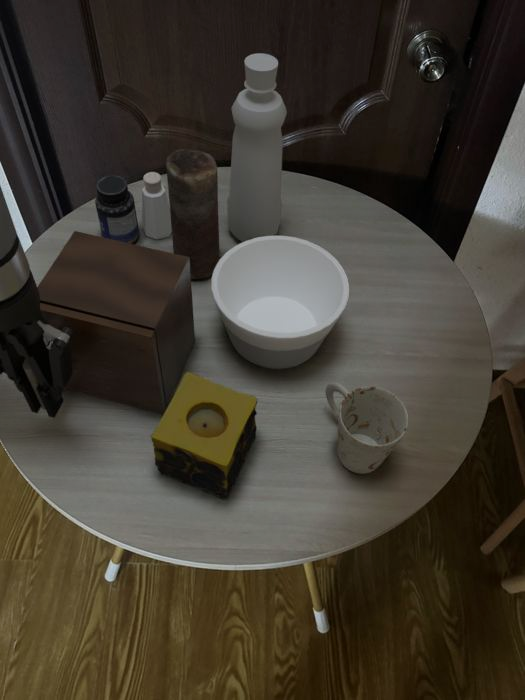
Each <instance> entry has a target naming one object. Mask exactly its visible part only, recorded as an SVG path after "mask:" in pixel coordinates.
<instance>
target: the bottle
mask: <svg viewBox="0 0 525 700" xmlns="http://www.w3.org/2000/svg"><path fill="white" fill-rule="evenodd" d="M243 63H244V73H245V80H244V82H243V83H244V87H245V88H244V89H243V90H241V91H240V92H238V95H237V96H236V99H235V100H234V102H233V104H232V106H231V114H232V119H233V123H234V125H235V126H234V130H233V134H232V144H231V145H232V146H231V161H230V162H231V163H230V176H229V177H230V178H229V192H228V196H227V197H228V198H227V200H226V203H227V205H226V206H227V208H226V209H227V211H226V212H227V223H228V224H227V226H228V227H227V228H228V230H229V232H230V233H231V234H232V235H233V236H234V237H235V239H236V240H238V241H240V242H241V243H242V242H245V241H247V240H250V239H254V238H257V237H264V236H276V235H277V234H278V232H279V226H280V223H281V221H282V210H283V201H282V176H283V175H282V173H283V171H282V170H283V145H284V144H283V133H282V126H283V124H284V122H285V120H286V118H287V117H286V116H287V113H288V112H287V107H286V105H285V103H284V100H283V98H282V96H281V94H279V92H277V91H276V88H277V85H278V84H277V82H276V78H277V73H278V68H279V60H278V59H277V57H275V56H274V55H271V54H269V53H263V52H262V53H261V52H260V53H259V52H258V53H251V54H250V55H248V56H245V59H244V62H243Z"/></svg>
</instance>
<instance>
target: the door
mask: <svg viewBox="0 0 525 700" xmlns="http://www.w3.org/2000/svg"><path fill="white" fill-rule="evenodd" d="M40 310H41V312H42V313H43V314H44V315H45V316H46V317H47V319H48V321H49V325H50V326H52V327H54V328H56V329H58V330H60V331H62V329H63V328H64V327H68V328H70V329H72V330H73V332H74V334H73V335H72V337H71V339H70V341H69V342H70V352H71V361H72V371H73V374H72V376H71V377H70V379H69V381H68V383H67V385H66V386H65V388H64V390H65V389H66V390H70V391H73V392H77V393H81V394H84V395H88V396H91V397H97V398H99V399H103V400H107V401H110V402H115V403H118V404H122V405H126V406H130V407H134V408H137V409H141V410H145V411H149V412H153V413H157V414H160V415H164V413H165V411H166V409H167V407H166V404H165V397H164V391H163V384H162V378H161V371H160V365H159V358H158V352H157V345H156V339H155V333H154V331H153V330H149V329H145V328H141V327H137V326H133V325H129V324H124V323H120V322H116V321H112V320H108V319H104V318H100V317H96V316H92V315H88V314H84V313H80V312H76V311H72V310H68V309H64V308H59V307H55V306H51V305H47V304H43V303H40ZM43 340H44V342H45V344H46V346H47V345H48V343H47V339H46V338H45V337H44V338H43ZM48 350H49V349H48ZM49 351H50V350H49ZM23 369H24V371H25V373H26V375H27V377H28V379H29V381H30V384H31V386H32V388H33V390H34V392H35V394H36V396H37V399H38V401H39V403H40V405H41V409H42V410H43V411H46V409H45V407H44V405H43V402H42V400H41V398H40V396H39V394H38V392H37V389H36V388H37V386H38V385H39V382H38V380H37V378H36V376H35V375H34V373H33V371H32V369H31V368H30V366H29V364H28V362H27V360H26V359H25V361H24V363H23Z"/></svg>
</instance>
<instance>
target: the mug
mask: <svg viewBox="0 0 525 700" xmlns="http://www.w3.org/2000/svg"><path fill="white" fill-rule="evenodd" d="M334 392H337V393H339V394H340V395H341V396H342V397H343V399H342V401H341V403H340V405H339V407H338V406H337V405H336V402H335V399H334ZM325 398H326V400H327V403H328V405H329V407H330V409H331V411H332V413H333V415H334V416H335V417H336V418H337V419H338V420H337V447H336V448H337V449H336V450H337V457H338V459H339V461H340V463H341V464H342V466H343V467H345V468H346V469H347V470H349V471H351V472H353V473H355V474H360V475H361V474H362V475H364V474H370V473H373V472H374V471H375V470H377V469H379V467H380V465H381V464H382V463H383V462H384V461H385V460H386V458H387V457H388V456H389V455H390V453H391V452H392V451H393V450H394V449H395V448H396V446H397V445H398V444H399V442H400V441H401V440H402V439H403V437H404V436H405V434H406V432H407V430H408V426H409V415H408V412H407V408H406V406H405V405H404V403H403V401H401V399H400V398H398V396H396V395H395V394H394V393H393V392H391V391H389V390H387V389H385V388H383V387H379V386H372V385H371V386H369V385H368V386H360V387H358V388H355V389H353V390H351V391H349V389H348V390H347V388H346V387H345V386H344V385H342V384H341V383H339V382H335V381H333V382H329V383H328V384H327V385H326V387H325Z"/></svg>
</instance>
